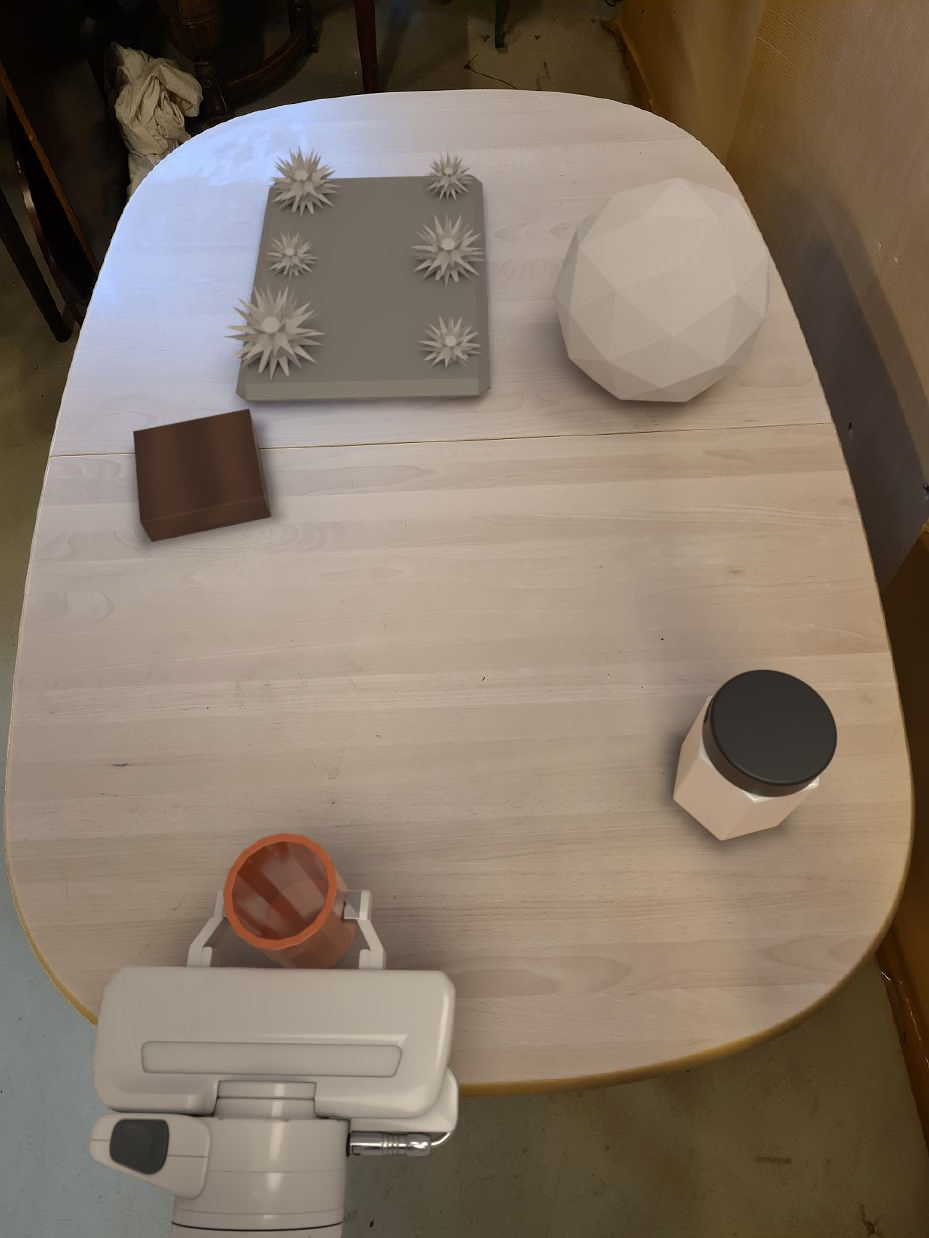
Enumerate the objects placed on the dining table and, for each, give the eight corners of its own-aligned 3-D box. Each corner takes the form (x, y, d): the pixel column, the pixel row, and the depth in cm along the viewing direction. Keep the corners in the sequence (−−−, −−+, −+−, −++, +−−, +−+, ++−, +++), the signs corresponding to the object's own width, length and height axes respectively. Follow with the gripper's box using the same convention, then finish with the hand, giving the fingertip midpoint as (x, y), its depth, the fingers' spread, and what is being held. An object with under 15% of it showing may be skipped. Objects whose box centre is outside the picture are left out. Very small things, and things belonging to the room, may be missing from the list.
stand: (151, 542, 78) (140, 522, 75) (143, 452, 83) (132, 431, 81) (271, 516, 79) (264, 496, 76) (256, 429, 84) (249, 408, 82)
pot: (268, 985, 55) (230, 961, 47) (256, 887, 59) (217, 848, 50) (365, 958, 56) (345, 931, 47) (348, 863, 59) (326, 821, 51)
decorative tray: (490, 409, 85) (491, 330, 76) (232, 416, 85) (203, 338, 77) (482, 192, 102) (482, 107, 94) (267, 197, 103) (247, 114, 94)
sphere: (658, 388, 95) (792, 229, 84) (679, 479, 80) (847, 299, 69) (517, 293, 90) (640, 108, 79) (511, 370, 74) (663, 155, 63)
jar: (760, 723, 68) (810, 654, 58) (804, 821, 64) (867, 765, 54) (653, 749, 67) (684, 684, 57) (692, 850, 63) (733, 800, 53)
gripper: (457, 1160, 43) (462, 881, 50) (56, 1152, 44) (115, 876, 50) (459, 1154, 49) (463, 903, 56) (103, 1147, 49) (151, 899, 56)
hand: (295, 890), depth 53 cm, fingers closed on pot, 6 cm apart
